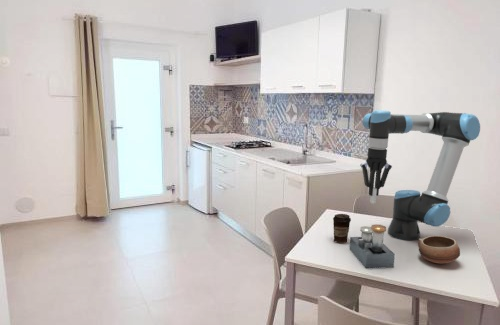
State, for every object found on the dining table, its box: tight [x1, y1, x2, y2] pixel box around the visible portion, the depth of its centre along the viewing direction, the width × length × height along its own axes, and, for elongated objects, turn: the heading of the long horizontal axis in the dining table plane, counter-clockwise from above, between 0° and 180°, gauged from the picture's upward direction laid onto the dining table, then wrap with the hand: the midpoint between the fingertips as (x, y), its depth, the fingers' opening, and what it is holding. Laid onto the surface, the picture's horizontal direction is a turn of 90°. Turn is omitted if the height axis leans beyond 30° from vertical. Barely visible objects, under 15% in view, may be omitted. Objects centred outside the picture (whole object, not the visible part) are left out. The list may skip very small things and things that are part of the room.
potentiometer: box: [358, 239, 365, 247], centre depth 163 cm, size 3×3×3 cm
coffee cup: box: [332, 213, 352, 244], centre depth 182 cm, size 9×8×13 cm
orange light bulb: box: [370, 224, 387, 252], centre depth 158 cm, size 6×6×10 cm
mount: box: [349, 236, 396, 269], centre depth 165 cm, size 12×19×6 cm, turn 5°
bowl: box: [417, 235, 461, 264], centre depth 162 cm, size 16×16×10 cm
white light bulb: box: [359, 225, 373, 243], centre depth 169 cm, size 6×6×10 cm
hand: (372, 202), depth 161 cm, fingers closed
